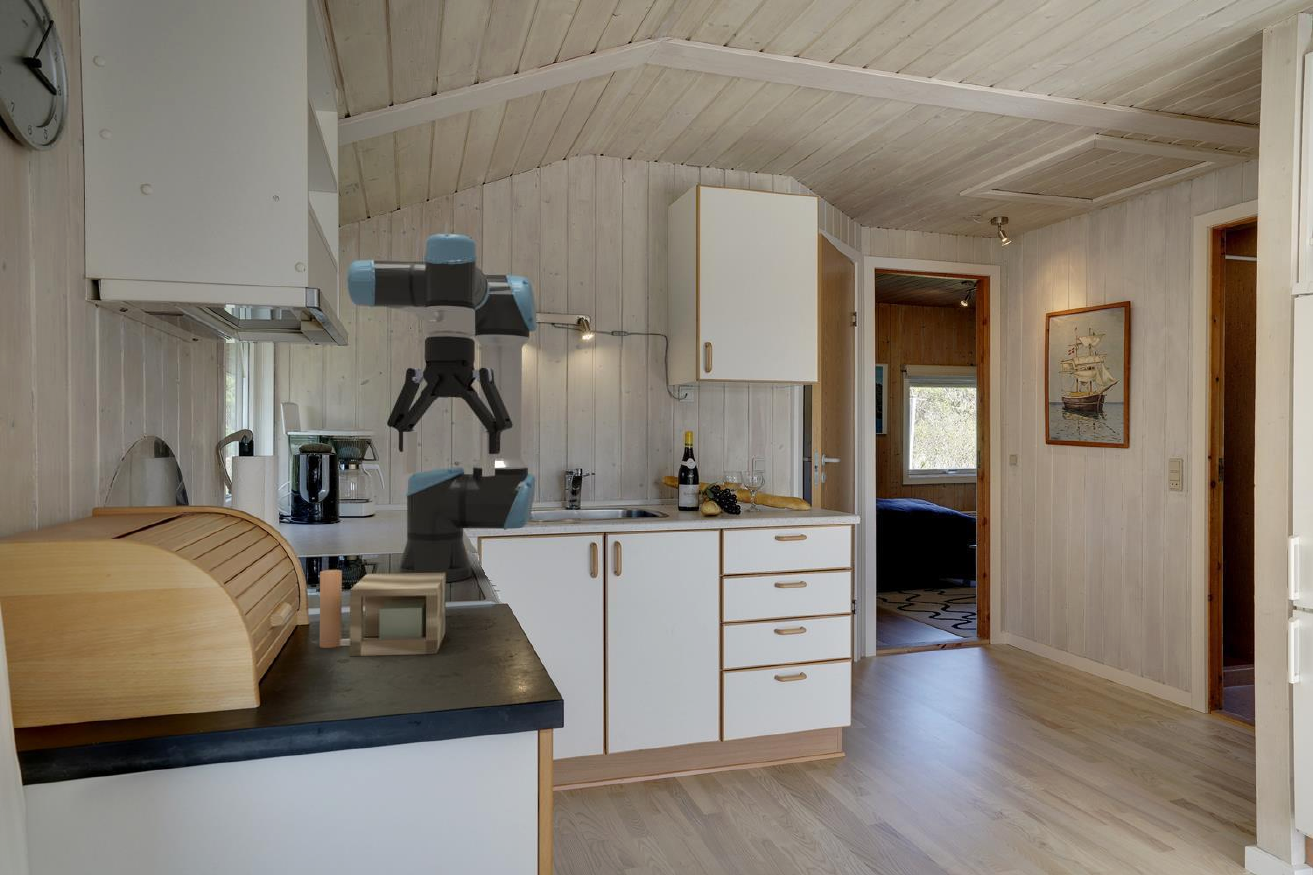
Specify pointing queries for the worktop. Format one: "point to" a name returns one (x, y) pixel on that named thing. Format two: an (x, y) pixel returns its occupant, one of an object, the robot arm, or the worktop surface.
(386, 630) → the block with rod
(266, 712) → the worktop surface
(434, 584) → the open wooden box
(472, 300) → the robot arm
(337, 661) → the worktop surface
